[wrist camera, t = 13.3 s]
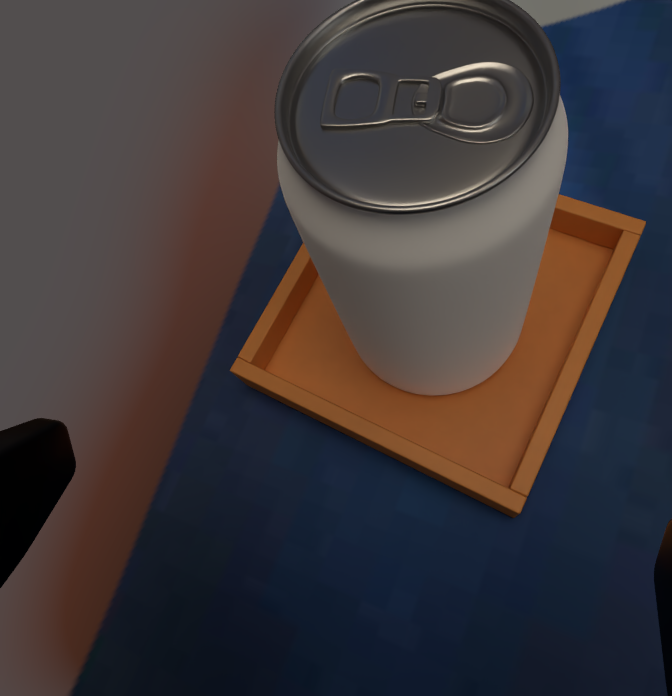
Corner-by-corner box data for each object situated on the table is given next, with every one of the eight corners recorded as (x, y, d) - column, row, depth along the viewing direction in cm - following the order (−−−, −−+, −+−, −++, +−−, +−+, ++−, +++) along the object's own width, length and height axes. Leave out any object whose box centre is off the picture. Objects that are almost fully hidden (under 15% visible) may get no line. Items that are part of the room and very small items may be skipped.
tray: (514, 518, 20) (520, 514, 19) (246, 385, 24) (229, 370, 22) (631, 248, 23) (647, 221, 21) (372, 163, 26) (365, 133, 24)
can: (513, 410, 21) (575, 244, 10) (337, 388, 23) (221, 222, 12) (528, 248, 23) (593, -42, 12) (364, 237, 25) (288, -29, 14)
